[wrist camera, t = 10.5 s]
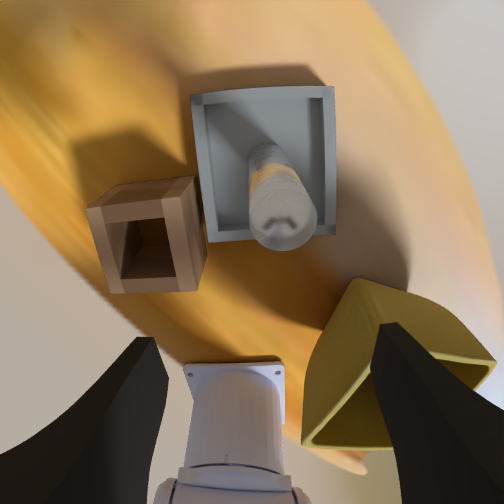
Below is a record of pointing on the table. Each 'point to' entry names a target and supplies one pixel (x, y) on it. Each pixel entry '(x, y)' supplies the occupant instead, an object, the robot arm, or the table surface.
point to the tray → (253, 134)
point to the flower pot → (359, 359)
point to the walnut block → (150, 256)
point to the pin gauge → (278, 201)
